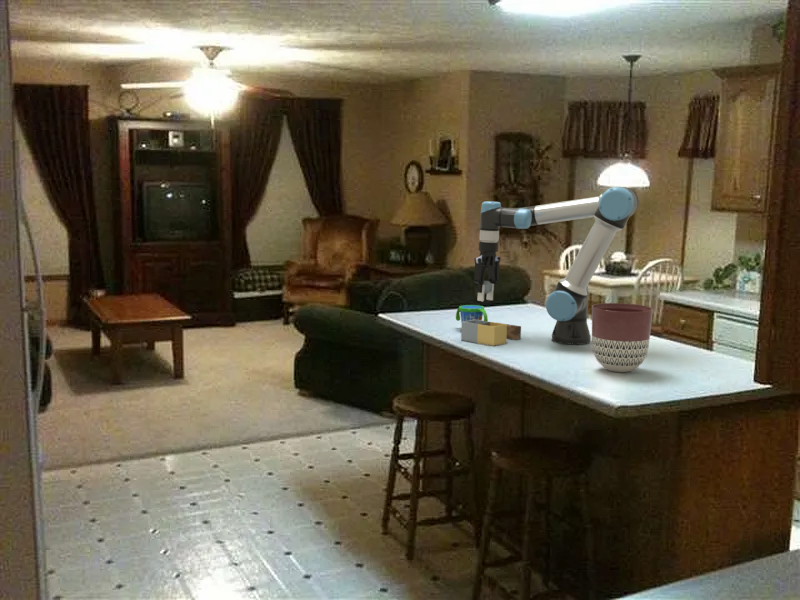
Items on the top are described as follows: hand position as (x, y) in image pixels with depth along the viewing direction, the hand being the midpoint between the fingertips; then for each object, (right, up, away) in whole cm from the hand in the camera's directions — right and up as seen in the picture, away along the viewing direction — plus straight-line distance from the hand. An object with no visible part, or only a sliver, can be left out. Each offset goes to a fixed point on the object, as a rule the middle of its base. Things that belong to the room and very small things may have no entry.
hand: (485, 300), depth 326 cm
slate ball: (0, +3, 0) cm, 3 cm away
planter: (+40, -24, -50) cm, 68 cm away
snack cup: (-4, -13, +22) cm, 26 cm away
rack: (+9, -15, +8) cm, 19 cm away
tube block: (-1, -16, -3) cm, 17 cm away
